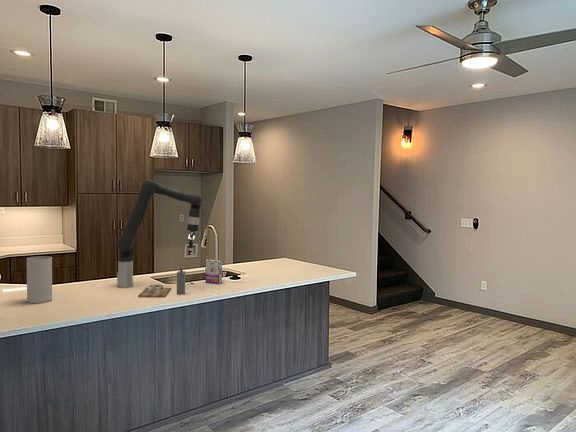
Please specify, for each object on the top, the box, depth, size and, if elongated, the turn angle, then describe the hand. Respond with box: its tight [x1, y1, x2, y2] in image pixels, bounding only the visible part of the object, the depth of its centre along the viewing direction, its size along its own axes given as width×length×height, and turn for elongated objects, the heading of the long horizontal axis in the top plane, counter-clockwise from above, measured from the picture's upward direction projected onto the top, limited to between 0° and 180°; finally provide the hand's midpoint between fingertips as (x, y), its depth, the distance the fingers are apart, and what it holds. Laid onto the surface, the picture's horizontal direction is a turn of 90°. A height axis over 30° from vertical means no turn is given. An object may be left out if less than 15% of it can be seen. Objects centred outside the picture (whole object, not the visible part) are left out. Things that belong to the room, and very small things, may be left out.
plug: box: [176, 266, 186, 295], centre depth 270 cm, size 5×5×17 cm
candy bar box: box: [205, 259, 223, 285], centre depth 303 cm, size 11×5×16 cm, turn 70°
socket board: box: [137, 284, 172, 298], centre depth 269 cm, size 16×20×5 cm
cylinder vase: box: [26, 255, 53, 304], centre depth 244 cm, size 12×12×25 cm
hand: (190, 247), depth 288 cm, fingers open, 8 cm apart
